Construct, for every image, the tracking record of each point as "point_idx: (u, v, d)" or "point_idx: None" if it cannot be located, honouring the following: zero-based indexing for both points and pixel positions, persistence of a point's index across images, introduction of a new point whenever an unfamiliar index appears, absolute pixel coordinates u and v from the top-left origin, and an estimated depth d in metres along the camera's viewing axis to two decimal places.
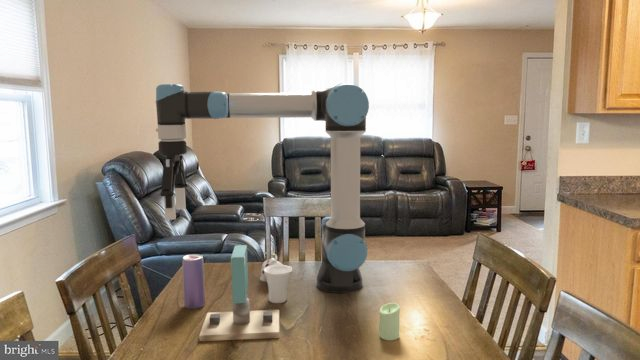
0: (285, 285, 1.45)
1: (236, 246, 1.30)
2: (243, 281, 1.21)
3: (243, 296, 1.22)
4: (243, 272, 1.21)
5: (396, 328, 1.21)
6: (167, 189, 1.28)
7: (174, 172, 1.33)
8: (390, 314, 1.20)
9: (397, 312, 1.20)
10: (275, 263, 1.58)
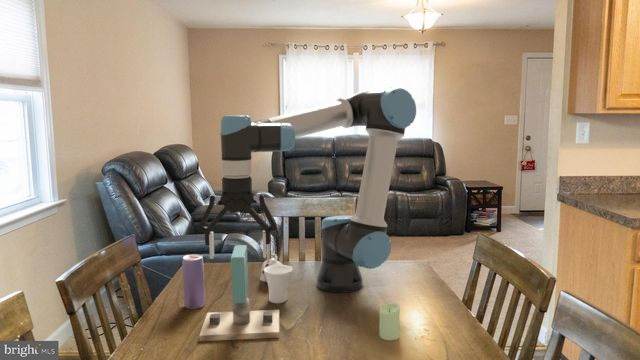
0: (285, 285, 1.45)
1: (236, 246, 1.30)
2: (243, 281, 1.21)
3: (243, 296, 1.22)
4: (243, 272, 1.21)
5: (396, 328, 1.21)
6: None
7: (221, 210, 1.23)
8: (390, 314, 1.20)
9: (397, 312, 1.20)
10: (275, 263, 1.58)
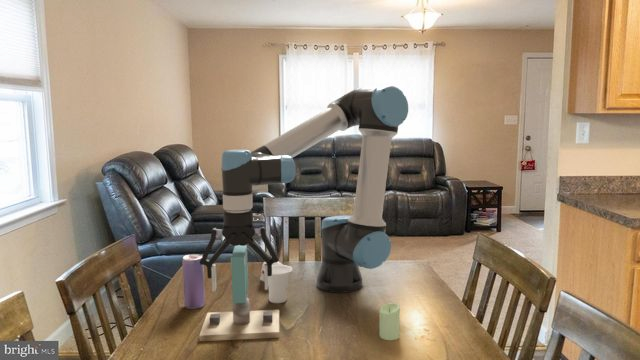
0: (285, 285, 1.45)
1: (236, 246, 1.30)
2: (243, 281, 1.21)
3: (243, 296, 1.22)
4: (243, 272, 1.21)
5: (396, 328, 1.21)
6: None
7: (223, 244, 1.24)
8: (390, 314, 1.20)
9: (397, 312, 1.20)
10: (275, 263, 1.58)
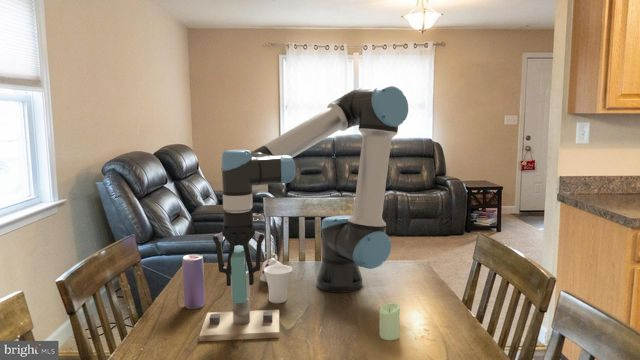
0: (285, 285, 1.45)
1: (236, 246, 1.30)
2: (243, 281, 1.21)
3: (243, 296, 1.22)
4: (243, 272, 1.21)
5: (396, 328, 1.21)
6: None
7: None
8: (390, 314, 1.20)
9: (397, 312, 1.20)
10: (275, 263, 1.58)
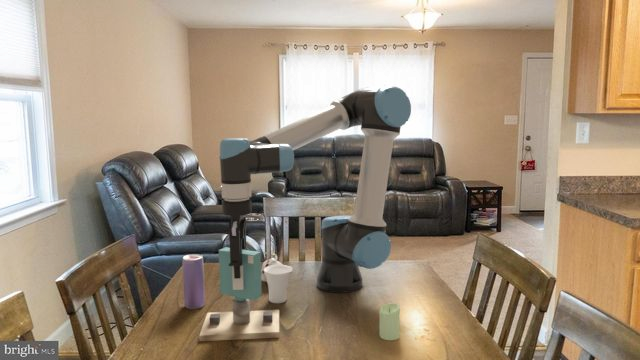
0: (285, 285, 1.45)
1: (221, 250, 1.27)
2: (260, 275, 1.25)
3: (260, 290, 1.26)
4: (260, 267, 1.25)
5: (396, 328, 1.21)
6: (236, 260, 1.20)
7: None
8: (390, 314, 1.20)
9: (397, 312, 1.20)
10: (275, 263, 1.58)
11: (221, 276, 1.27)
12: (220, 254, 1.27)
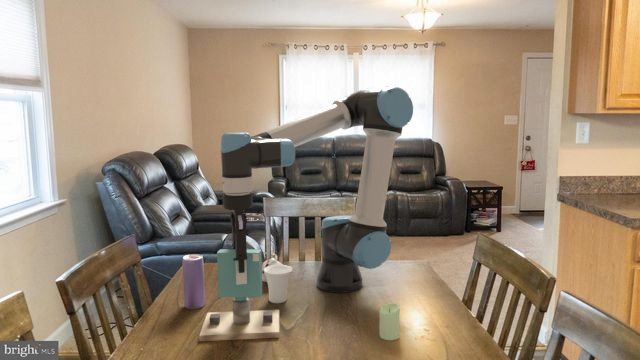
0: (285, 285, 1.45)
1: (220, 252, 1.25)
2: (261, 272, 1.28)
3: (261, 287, 1.28)
4: (261, 264, 1.27)
5: (396, 328, 1.21)
6: (242, 254, 1.19)
7: None
8: (390, 314, 1.20)
9: (397, 312, 1.20)
10: (275, 263, 1.58)
11: (220, 279, 1.25)
12: (219, 256, 1.24)
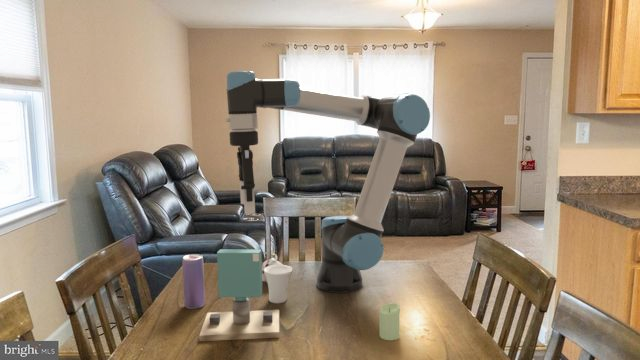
0: (285, 285, 1.45)
1: (220, 252, 1.25)
2: (261, 272, 1.28)
3: (261, 287, 1.28)
4: (261, 264, 1.27)
5: (396, 328, 1.21)
6: (250, 181, 1.21)
7: None
8: (390, 314, 1.20)
9: (397, 312, 1.20)
10: (275, 263, 1.58)
11: (220, 279, 1.25)
12: (219, 256, 1.24)
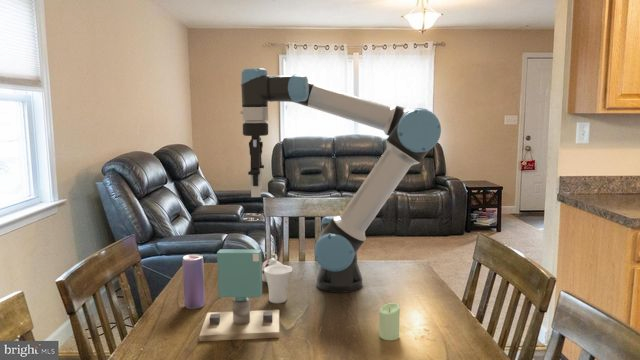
0: (285, 285, 1.45)
1: (220, 252, 1.25)
2: (261, 272, 1.28)
3: (261, 287, 1.28)
4: (261, 264, 1.27)
5: (396, 328, 1.21)
6: (255, 168, 1.34)
7: (259, 152, 1.39)
8: (390, 314, 1.20)
9: (397, 312, 1.20)
10: (275, 263, 1.58)
11: (220, 279, 1.25)
12: (219, 256, 1.24)
